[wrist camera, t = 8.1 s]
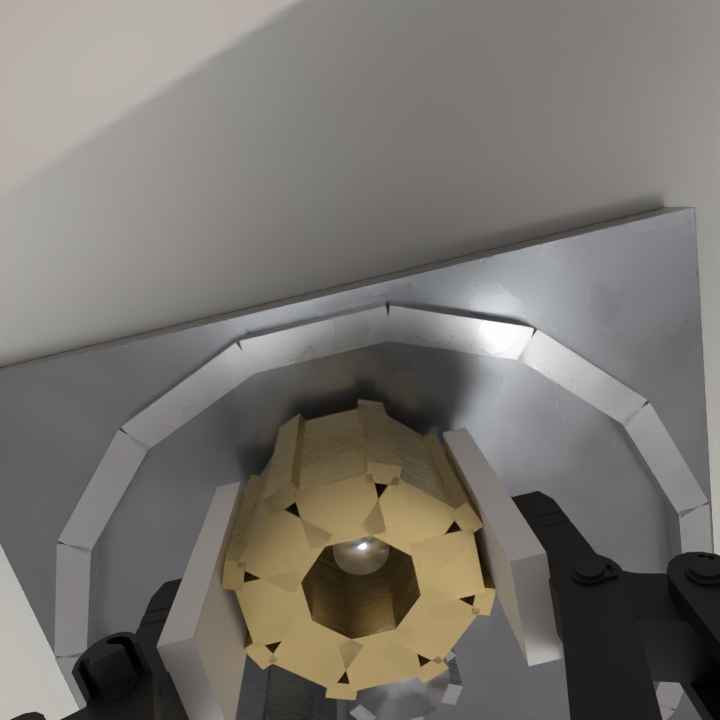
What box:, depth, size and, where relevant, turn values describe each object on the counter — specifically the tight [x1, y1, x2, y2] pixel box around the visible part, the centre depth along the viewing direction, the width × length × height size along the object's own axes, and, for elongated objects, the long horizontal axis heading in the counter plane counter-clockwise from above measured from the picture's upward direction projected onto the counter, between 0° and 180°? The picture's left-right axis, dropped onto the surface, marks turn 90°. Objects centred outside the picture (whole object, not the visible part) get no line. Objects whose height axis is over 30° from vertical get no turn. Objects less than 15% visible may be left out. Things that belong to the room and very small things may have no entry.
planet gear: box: [222, 399, 496, 700], centre depth 16 cm, size 7×7×4 cm
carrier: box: [0, 207, 714, 720], centre depth 19 cm, size 25×25×6 cm
